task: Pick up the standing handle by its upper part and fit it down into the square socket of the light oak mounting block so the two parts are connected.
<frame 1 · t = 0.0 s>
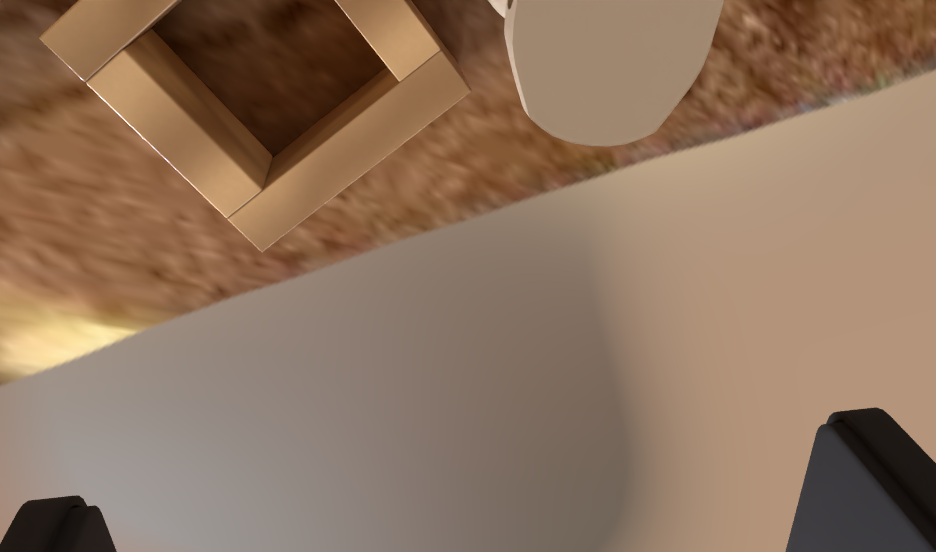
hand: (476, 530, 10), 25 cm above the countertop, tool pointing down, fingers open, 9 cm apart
socket block: (277, 43, 31), on the countertop
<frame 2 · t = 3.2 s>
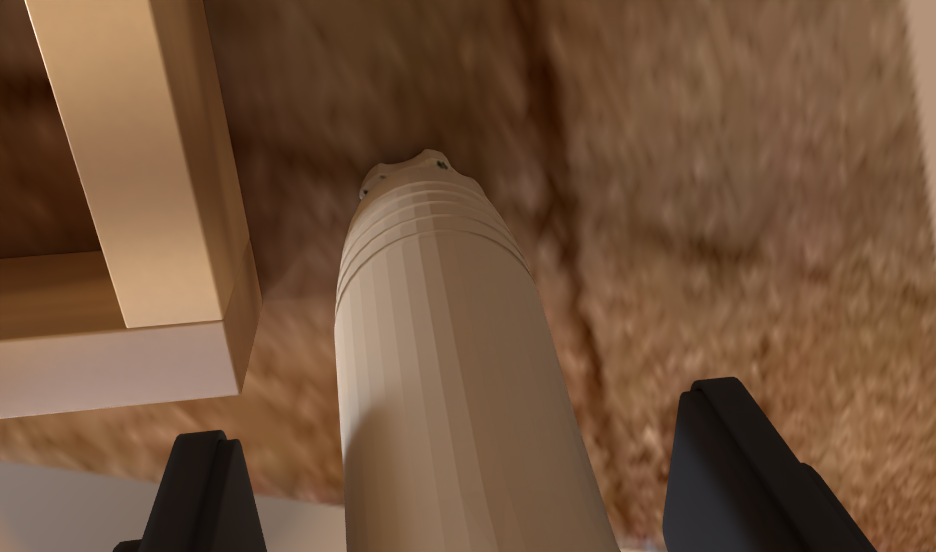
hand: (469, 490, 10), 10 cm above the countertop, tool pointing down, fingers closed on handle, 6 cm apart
handle: (417, 201, 19), on the countertop, touching gripper
when the fingers open (10 cm above the countertop, at t = 9.9 s): handle stays where it is, resting in socket block.
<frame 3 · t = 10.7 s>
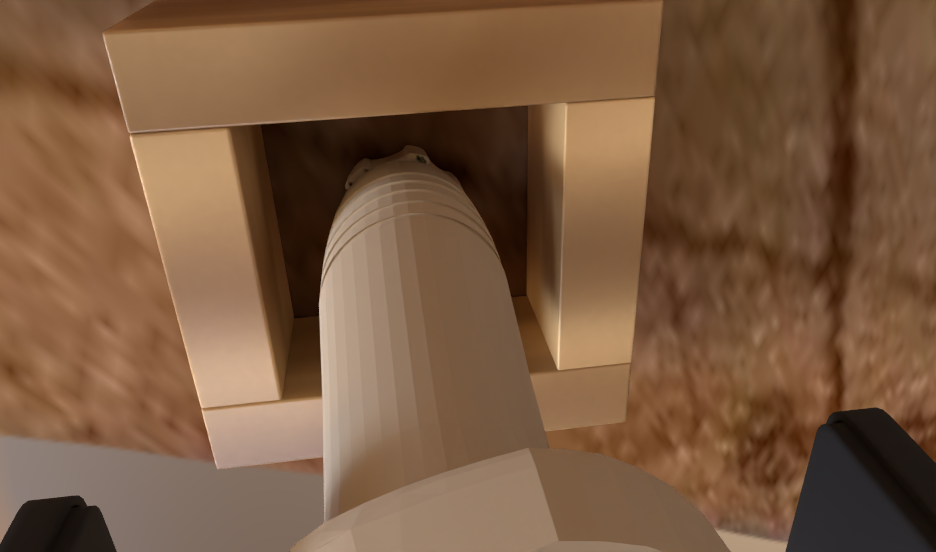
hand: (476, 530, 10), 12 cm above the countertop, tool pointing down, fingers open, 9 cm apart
handle: (399, 194, 21), resting in socket block
socket block: (403, 198, 20), on the countertop
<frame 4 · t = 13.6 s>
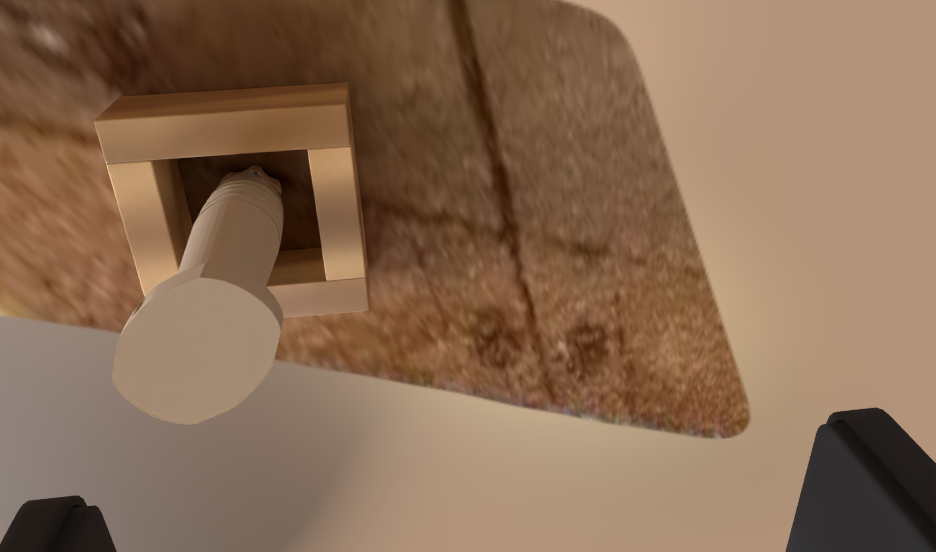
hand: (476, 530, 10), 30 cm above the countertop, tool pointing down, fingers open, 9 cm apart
handle: (253, 190, 39), resting in socket block
socket block: (254, 192, 39), on the countertop
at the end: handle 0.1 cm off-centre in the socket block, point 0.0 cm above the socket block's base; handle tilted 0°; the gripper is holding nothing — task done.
